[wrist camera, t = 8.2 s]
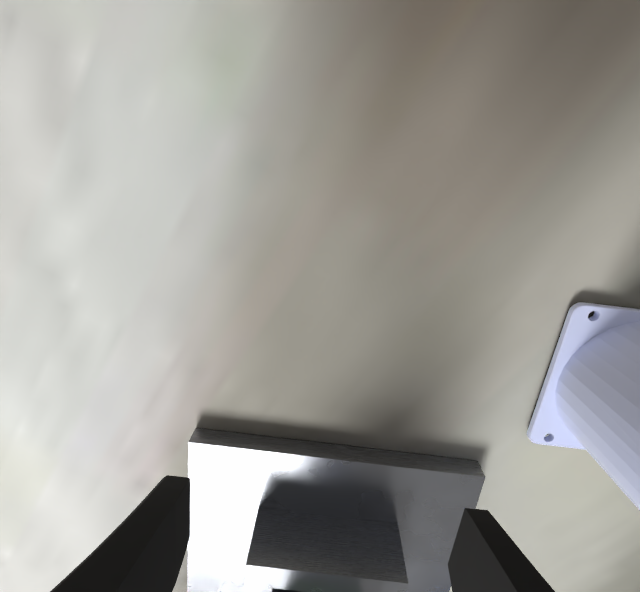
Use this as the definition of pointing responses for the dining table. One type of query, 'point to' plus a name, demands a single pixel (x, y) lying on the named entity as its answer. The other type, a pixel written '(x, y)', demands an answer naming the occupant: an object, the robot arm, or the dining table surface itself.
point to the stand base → (321, 515)
